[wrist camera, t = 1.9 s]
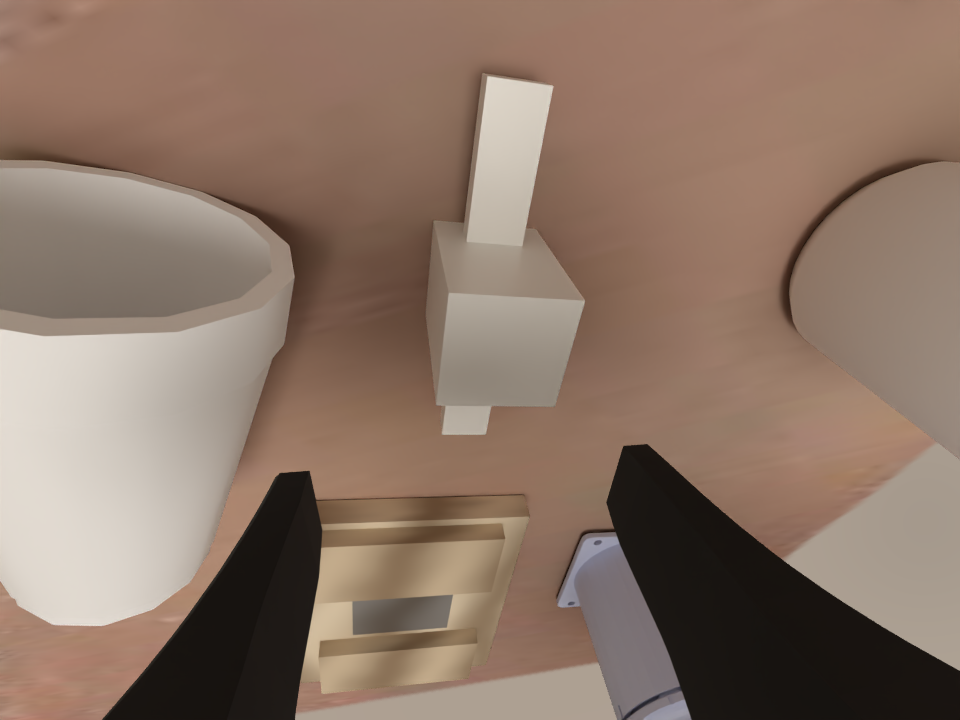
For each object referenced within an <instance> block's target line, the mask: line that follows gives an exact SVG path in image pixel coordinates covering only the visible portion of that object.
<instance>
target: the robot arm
mask: <svg viewBox="0 0 960 720" xmlns="http://www.w3.org/2000/svg"><path fill="white" fill-rule="evenodd" d="M606 503H607V506H608V509H609V513H610V516H611V519H612V523H613V526H614V529H615V532H606V533H589V534H586V535H584V536H583V537H582V538H581V541H580V543H579V545H578V548H577V550H576V553H575V555H574V558H573V560H572V563H571V565H570V568H569V570H568V573H567V575H566V578H565V580H564V583H563V585H562V588H561V590H560V593H559V595H558V598H557V605H558V606H559V607H563V608H564V607H577V606H581V609H582V612H583V616H584V619H585V622H586V625H587V628H588V631H589V634H590V637H591V640H592V643H593V646H594V650H595V653H596V656H597V659H598V662H599V665H600V668H601V671H602V674H603V677H604V680H605V684H606V687H607V690H608V692H609V696H610V699H611V702H612V705H613V708H614V711H615V714H616V717H617V720H960V671H959V670H957V669H955V668H953V667H952V666H950V665H948V664H946V663H944V662H943V661H941V660H939V659H937V658H936V657H934V656H932V655H930V654H928V653H927V652H925V651H923V650H921V649H919V648H918V647H916V646H914V645H912V644H910V643H909V642H907V641H905V640H904V639H902V638H900V637H899V636H897V635H895V634H894V633H892V632H890V631H888V630H887V629H885V628H883V627H881V626H880V625H879V624H877V623H875V622H874V621H872V620H871V619H869V618H867V617H866V616H864V615H863V614H861V613H859V612H858V611H856V610H855V609H853V608H852V607H850V606H848V605H847V604H845V603H843V602H842V601H841V600H839V599H837V598H836V597H834V596H833V595H832V594H830V593H828V592H827V591H826V590H824V589H822V588H821V587H820V586H818V585H817V584H815V583H814V582H813V581H811V580H810V579H808V578H807V577H806V576H804V575H803V574H801V573H800V572H798V571H797V570H796V569H794V568H793V567H791V566H790V565H789V564H787V563H786V562H785V561H783V560H782V559H781V558H779V557H778V556H777V555H775V554H774V553H773V552H771V551H770V550H769V549H768V548H766V547H765V546H764V545H763V544H761V543H760V542H759V541H757V540H756V539H755V538H754V537H752V536H751V535H750V534H749V533H747V532H746V531H745V530H744V529H742V528H741V527H740V526H739V525H738V524H736V523H735V522H734V521H733V520H732V519H730V518H729V517H728V516H727V515H726V514H725V513H723V512H722V511H721V510H720V509H719V508H718V507H717V506H715V505H714V504H713V503H712V502H711V501H710V500H709V499H707V498H706V497H705V496H704V495H703V494H702V493H701V492H700V491H698V490H697V489H696V488H695V487H694V486H693V485H692V484H691V483H690V482H688V481H687V480H686V479H685V478H684V477H683V476H682V475H681V474H680V473H679V472H677V471H676V470H675V469H674V468H673V467H672V466H671V465H670V464H669V463H668V462H667V461H666V460H664V459H663V458H662V457H661V456H660V455H659V454H658V453H657V452H656V451H654V450H653V449H652V448H651V447H650V446H649V445H648V444H644V445H631V446H623V449H622V452H621V456H620V459H619V462H618V466H617V469H616V472H615V476H614V479H613V482H612V486H611V489H610V492H609V496H608V499H607V502H606ZM321 545H322V526H321V521H320V517H319V512H318V507H317V503H316V498H315V494H314V489H313V485H312V480H311V476H310V471H302V472H289V473H280V474H279V475H278V476H276V477H275V479H274V481H273V483H272V485H271V487H270V489H269V491H268V492H267V494H266V496H265V498H264V500H263V501H262V503H261V505H260V507H259V508H258V510H257V512H256V514H255V515H254V517H253V519H252V520H251V522H250V524H249V525H248V527H247V529H246V530H245V532H244V534H243V535H242V537H241V538H240V540H239V541H238V543H237V544H236V546H235V548H234V549H233V551H232V552H231V554H230V555H229V557H228V558H227V560H226V562H225V563H224V565H223V566H222V568H221V569H220V571H219V572H218V574H217V575H216V577H215V578H214V579H213V581H212V582H211V584H210V585H209V586H208V588H207V589H206V591H205V592H204V593H203V595H202V596H201V598H200V599H199V600H198V602H197V603H196V605H195V606H194V607H193V609H192V610H191V612H190V613H189V614H188V616H187V617H186V618H185V620H184V621H183V622H182V624H181V625H180V626H179V628H178V629H177V630H176V632H175V633H174V634H173V636H172V637H171V638H170V639H169V641H168V642H167V643H166V644H165V646H164V647H163V648H162V649H161V651H160V652H159V653H158V654H157V656H156V657H155V658H154V659H153V661H152V662H151V663H150V664H149V666H148V667H147V668H146V669H145V670H144V672H143V673H142V674H141V675H140V676H139V678H138V679H137V680H136V681H135V682H134V683H133V684H132V686H131V687H130V688H129V689H128V690H127V691H126V693H125V694H124V695H123V696H122V697H121V698H120V700H119V701H118V702H117V703H116V704H115V705H114V707H113V708H112V709H111V710H110V711H109V712H108V713H107V715H106V716H105V717H104V718H103V719H102V720H295V713H296V706H297V699H298V692H299V685H300V680H301V674H302V669H303V663H304V658H305V652H306V647H307V641H308V636H309V630H310V625H311V620H312V614H313V609H314V603H315V597H316V592H317V586H318V580H319V572H320V559H321Z"/></svg>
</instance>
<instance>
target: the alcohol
mask: <svg viewBox="0 0 960 720" xmlns="http://www.w3.org/2000/svg"><path fill="white" fill-rule="evenodd" d="M789 297H790V305H791V312H792V319H793V323H794V325H795V327H796V329H797V331H798V333H799V334H800V335H801V336H802V337H803V338H804V339H805V340H806V341H807V342H808V343H810V344H811V345H812V346H814V347H815V348H816V349H818V350H819V351H820V352H821V353H823V354H824V355H825V356H827V357H828V358H829V359H830V360H832V361H833V362H834V363H836V364H837V365H838V366H839V367H841V368H842V369H843V370H845V371H846V372H847V373H849V374H850V375H851V376H852V377H854V378H855V379H856V380H858V381H859V382H860V383H861V384H863V385H864V386H865V387H867V388H868V389H869V390H870V391H872V392H873V393H874V394H876V395H877V396H878V397H880V398H881V399H882V400H883V401H885V402H886V403H887V404H889V405H890V406H891V407H892V408H894V409H895V410H896V411H898V412H899V413H900V414H902V415H903V416H904V417H905V418H907V419H908V420H909V421H911V422H912V423H913V424H914V425H916V426H917V427H918V428H920V429H921V430H922V431H923V432H925V433H926V434H927V435H929V436H930V437H931V438H933V439H934V440H935V441H936V442H938V443H939V444H940V445H942V446H943V447H944V448H945V449H947V450H948V451H949V452H951V453H952V454H953V455H954V456H956V457H957V458H958V459H960V163H958V162H946V161H942V162H935V163H928V164H922V165H919V166H916V167H913V168H910V169H907V170H904V171H901V172H898V173H895V174H892V175H889V176H886V177H883V178H880V179H878V180H876V181H875V182H873V183H871V184H869V185H867V186H865V187H863V188H861V189H860V190H858V191H857V192H856V193H854V194H853V195H851V196H850V197H848V198H847V199H846V200H844V201H843V202H842V203H841V204H840V205H838V206H837V207H836V208H835V209H834V210H833V211H832V212H831V213H830V214H828V215H827V217H826V218H825V219H824V220H823V221H822V222H821V223H820V225H819V226H818V227H817V228H816V229H815V230H814V232H813V233H812V235H811V236H810V237H809V239H808V240H807V242H806V243H805V245H804V246H803V248H802V250H801V252H800V254H799V256H798V258H797V260H796V262H795V265H794V268H793V272H792V275H791V278H790V287H789Z"/></svg>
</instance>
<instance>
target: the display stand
mask: <svg viewBox="0 0 960 720" xmlns="http://www.w3.org/2000/svg"><path fill="white" fill-rule="evenodd" d="M316 503H317V507H318V512H319V517H320V521H321V526H322V545H321V559H320V572H319V580H318V586H317V592H316V597H315V603H314V609H313V614H312V620H311V625H310V630H309V636H308V641H307V647H306V652H305V658H304V663H303V669H302V674H301V683H308V682H318V681H321V691H322V694H325V693H335V692H345V691H355V690H364V689H374V688H384V687H393V686H403V685H413V684H422V683H432V682H442V681H451V680H461V679H468V678H469V674H470V670H471V667H472V666H481V665H486V662H487V659H488V655H489V652H490V649H491V645H492V642H493V639H494V635H495V632H496V629H497V625H498V622H499V619H500V615H501V612H502V608H503V605H504V602H505V598H506V595H507V592H508V588H509V585H510V582H511V578H512V575H513V572H514V568H515V565H516V562H517V558H518V555H519V551H520V548H521V545H522V541H523V538H524V535H525V531H526V528H527V525H528V521H529V518H530V515H529V512H528V508H527V505H526V501H525V497H524V495H508V496H471V497H435V498H398V499H362V500H325V501H316Z"/></svg>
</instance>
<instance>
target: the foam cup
mask: <svg viewBox="0 0 960 720" xmlns="http://www.w3.org/2000/svg"><path fill="white" fill-rule="evenodd" d="M294 278H295V276H294V270H293V264H292V258H291V252H290V246H289V245H288V244H287V243H286V242H285V241H284V240H283V239H281V238H280V237H279V236H278V235H277V234H276V233H275V232H273V231H272V230H271V229H270V228H269V227H268V226H267V225H265V224H264V223H263V222H262V221H261V220H260V219H259V218H257V217H256V216H254V215H252V214H250V213H247V212H245V211H243V210H241V209H239V208H236V207H234V206H232V205H230V204H228V203H225V202H223V201H221V200H219V199H217V198H214V197H212V196H210V195H208V194H206V193H203V192H201V191H197V190H194V189H190V188H186V187H182V186H179V185H175V184H171V183H167V182H164V181H160V180H156V179H152V178H149V177H145V176H141V175H138V174H134V173H130V172H123V171H116V170H108V169H101V168H94V167H86V166H79V165H72V164H65V163H57V162H50V161H43V160H0V581H1V583H2V584H3V586H4V587H5V589H6V590H7V592H8V593H9V595H10V596H11V597H12V598H14V599H16V602H17V605H18V606H20V607H21V608H23V609H25V610H27V611H29V612H31V613H32V614H34V615H36V616H38V617H40V618H41V619H43V620H45V621H47V622H49V623H51V624H52V625H81V626H104V625H107V624H110V623H113V622H117V621H120V620H123V619H126V618H129V617H132V616H135V615H138V614H141V613H144V612H147V611H150V610H153V609H154V608H155V607H157V606H158V605H160V604H161V603H162V602H164V601H165V600H166V599H168V598H169V597H171V596H172V595H173V594H175V593H176V592H177V591H179V590H180V589H181V588H183V587H184V586H186V585H187V584H188V583H190V582H191V580H192V578H193V577H194V575H195V574H196V572H197V571H198V569H199V567H200V566H201V564H202V563H203V561H204V560H205V558H206V556H207V555H208V553H209V552H210V546H211V544H212V543H213V541H214V538H215V535H216V532H217V529H218V526H219V523H220V520H221V517H222V514H223V510H224V507H225V504H226V501H227V498H228V495H229V492H230V489H231V486H232V483H233V479H234V476H235V473H236V470H237V467H238V464H239V461H240V458H241V455H242V451H243V448H244V445H245V442H246V439H247V436H248V433H249V430H250V427H251V424H252V420H253V417H254V414H255V411H256V408H257V405H258V402H259V399H260V396H261V393H262V389H263V386H264V383H265V380H266V377H267V374H268V371H269V368H270V365H271V362H272V358H273V357H274V356H275V355H276V354H277V353H278V351H279V350H280V349H281V348H282V347H283V345H284V342H285V336H286V330H287V323H288V317H289V310H290V304H291V298H292V291H293V285H294Z"/></svg>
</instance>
